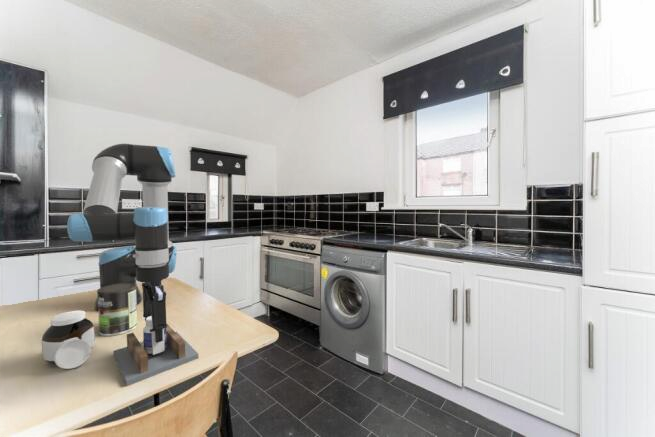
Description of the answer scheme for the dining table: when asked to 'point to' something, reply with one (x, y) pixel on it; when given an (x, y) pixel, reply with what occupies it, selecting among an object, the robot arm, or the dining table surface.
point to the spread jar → (68, 340)
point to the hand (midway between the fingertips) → (155, 347)
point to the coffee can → (117, 309)
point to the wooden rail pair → (141, 356)
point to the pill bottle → (150, 336)
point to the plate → (151, 362)
